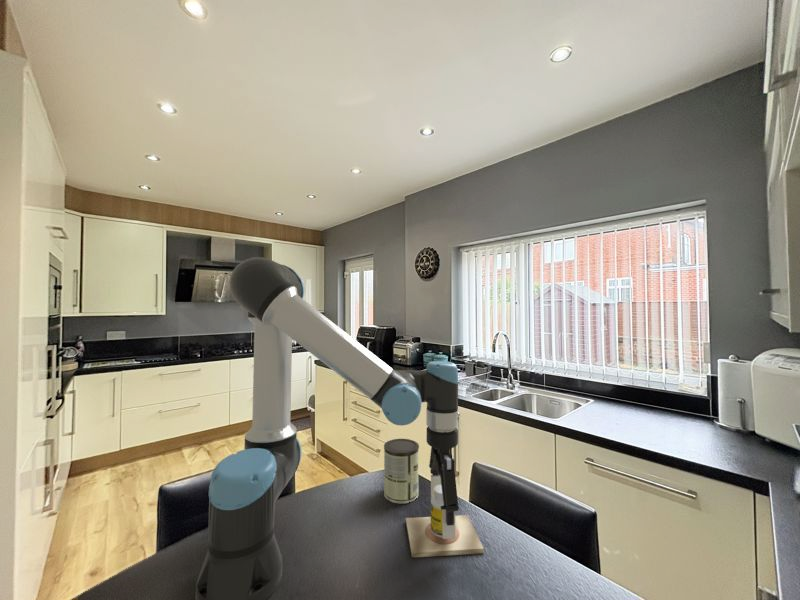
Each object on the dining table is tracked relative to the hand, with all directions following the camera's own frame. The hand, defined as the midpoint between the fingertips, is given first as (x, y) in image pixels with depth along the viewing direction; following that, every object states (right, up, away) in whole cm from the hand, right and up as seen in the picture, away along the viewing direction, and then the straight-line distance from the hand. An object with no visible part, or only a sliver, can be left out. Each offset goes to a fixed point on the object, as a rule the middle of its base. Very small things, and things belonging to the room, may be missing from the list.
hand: (441, 518), depth 77 cm
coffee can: (-10, -5, +18) cm, 21 cm away
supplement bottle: (0, -3, 0) cm, 3 cm away
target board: (0, -4, 0) cm, 4 cm away
